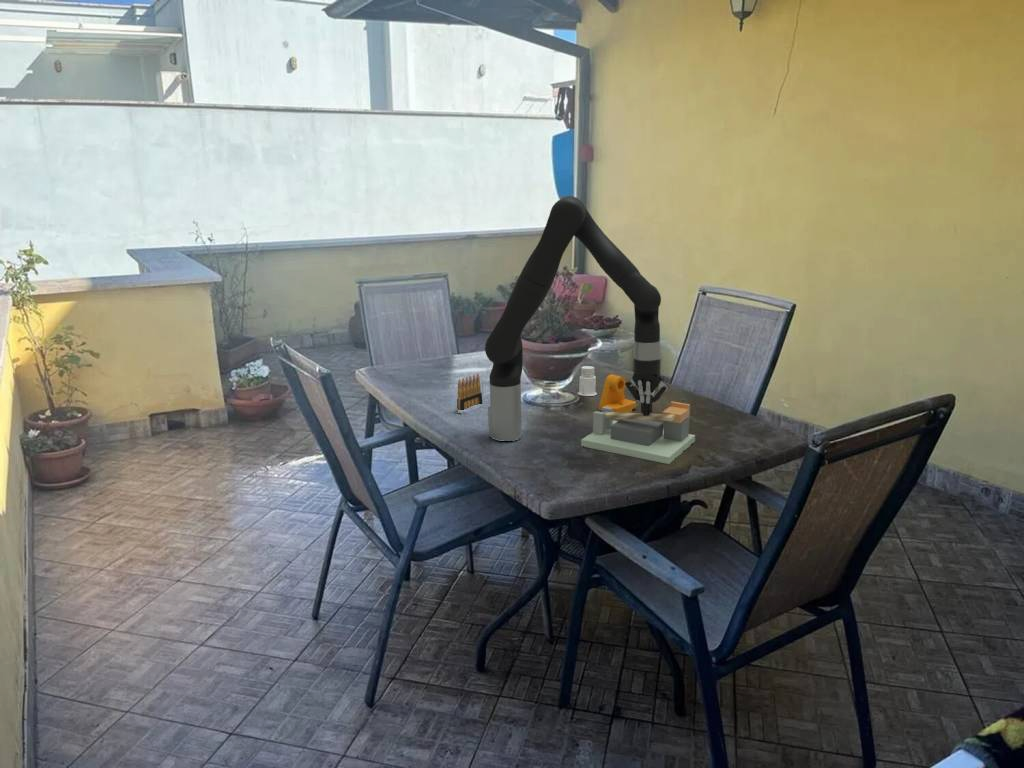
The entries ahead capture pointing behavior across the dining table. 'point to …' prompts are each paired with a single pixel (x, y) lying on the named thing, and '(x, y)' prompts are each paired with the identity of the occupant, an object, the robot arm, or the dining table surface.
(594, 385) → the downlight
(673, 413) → the block
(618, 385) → the bracket
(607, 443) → the board
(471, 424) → the dining table surface
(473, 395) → the ammunition clip
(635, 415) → the strap
